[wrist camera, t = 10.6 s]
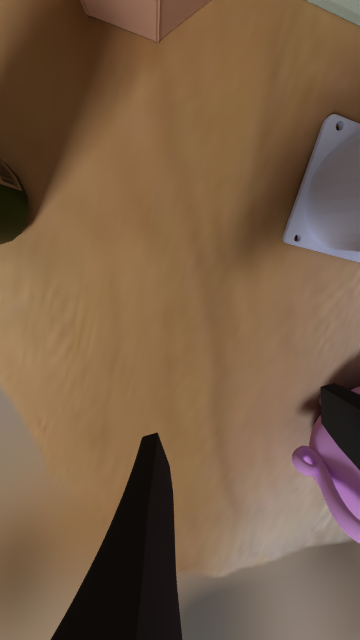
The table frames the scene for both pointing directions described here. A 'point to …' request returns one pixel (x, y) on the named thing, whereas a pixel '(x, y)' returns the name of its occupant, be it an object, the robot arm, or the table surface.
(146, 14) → the bowl
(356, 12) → the mat
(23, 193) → the beer can
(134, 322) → the table surface
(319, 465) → the teapot
